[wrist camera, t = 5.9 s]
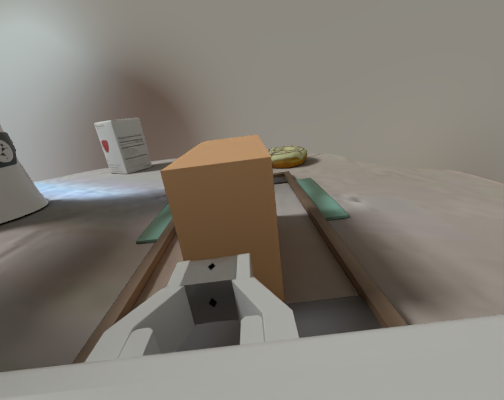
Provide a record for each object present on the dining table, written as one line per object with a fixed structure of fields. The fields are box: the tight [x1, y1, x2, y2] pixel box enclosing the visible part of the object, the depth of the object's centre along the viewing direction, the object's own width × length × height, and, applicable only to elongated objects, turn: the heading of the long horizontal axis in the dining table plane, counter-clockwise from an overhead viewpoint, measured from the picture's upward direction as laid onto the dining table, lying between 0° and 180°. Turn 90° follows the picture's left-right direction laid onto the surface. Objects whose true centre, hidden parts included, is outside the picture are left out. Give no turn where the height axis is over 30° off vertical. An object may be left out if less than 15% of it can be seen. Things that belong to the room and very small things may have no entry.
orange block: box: [160, 135, 285, 302], centre depth 21 cm, size 6×14×10 cm, turn 2°
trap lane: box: [72, 171, 407, 364], centre depth 28 cm, size 24×37×1 cm, turn 2°
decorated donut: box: [267, 146, 307, 168], centre depth 55 cm, size 10×11×4 cm
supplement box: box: [94, 118, 152, 174], centre depth 71 cm, size 9×9×15 cm
